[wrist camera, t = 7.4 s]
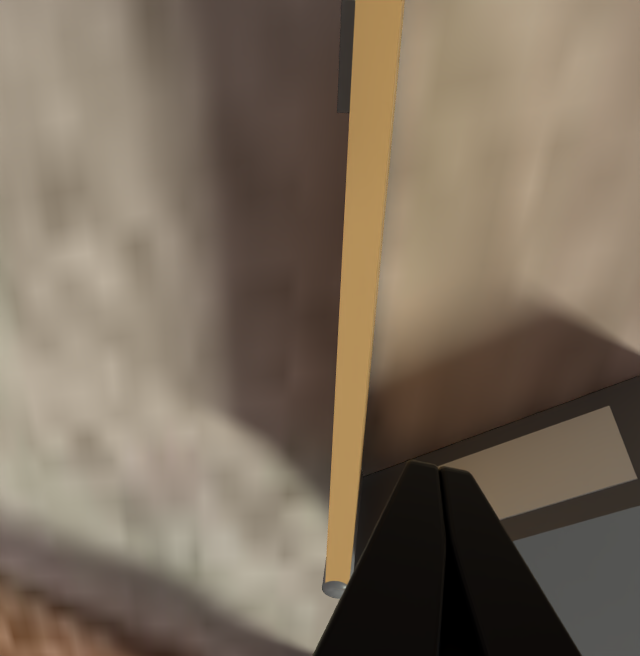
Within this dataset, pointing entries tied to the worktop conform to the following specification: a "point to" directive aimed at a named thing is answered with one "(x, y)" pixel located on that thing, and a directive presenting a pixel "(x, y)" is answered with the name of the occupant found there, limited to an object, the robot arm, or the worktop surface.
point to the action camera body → (560, 508)
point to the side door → (359, 254)
